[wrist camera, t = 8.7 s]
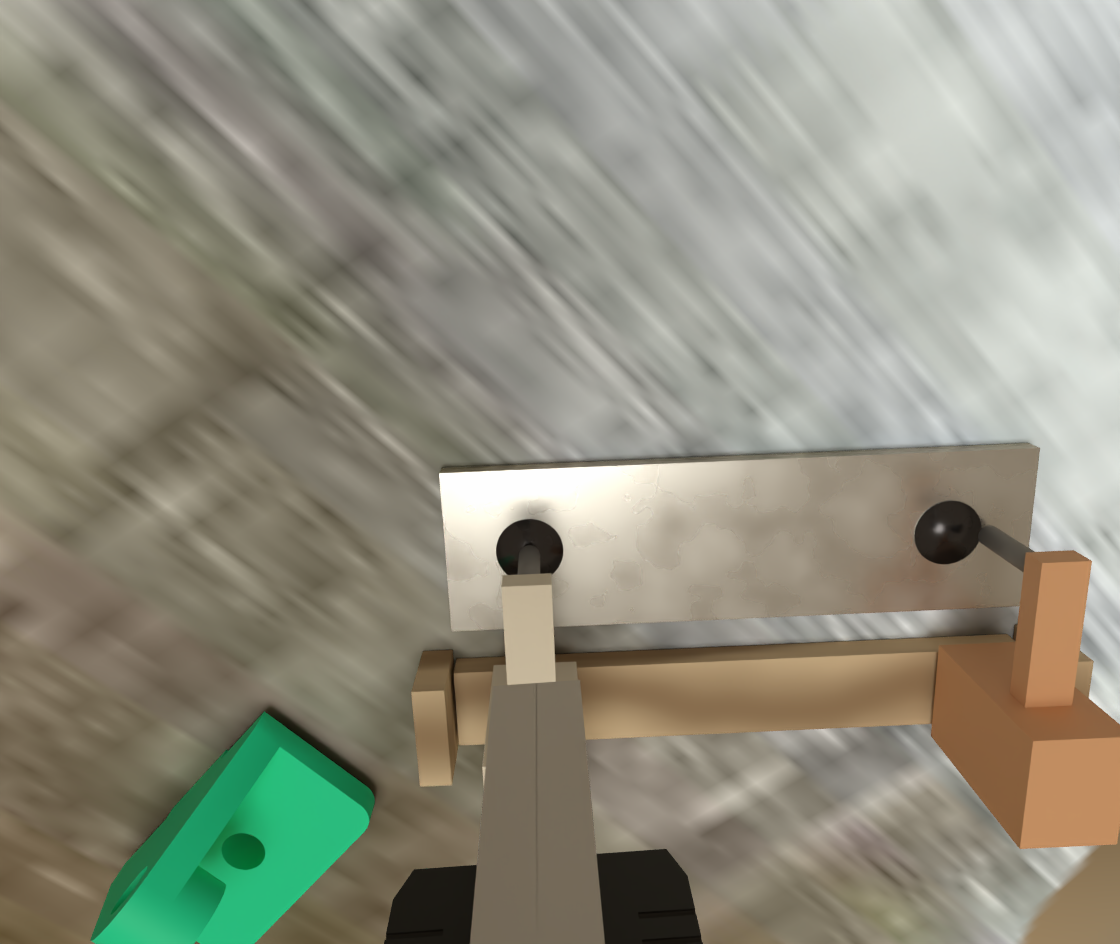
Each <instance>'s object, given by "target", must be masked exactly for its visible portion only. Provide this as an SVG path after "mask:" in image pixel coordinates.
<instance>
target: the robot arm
mask: <svg viewBox="0 0 1120 944" xmlns="http://www.w3.org/2000/svg"><path fill="white" fill-rule="evenodd" d="M384 944H703V942H702V940H701V933H700V929H699V924H698V920H697V916H696V914H695V907H694V903H693V898H692V894H691V889H690V885H689V881H688V876H687V875H686V873H685V872H684V871H683V870H682V868H681V867H680V866H679V865H678V863H677V862H676V861H675V859H674V858H673V857H672V856H671V854H670V853H669V852H668V851H667V849H659V850H645V851H631V852H617V853H604V854H596V844H595V833H594V823H593V812H592V802H591V791H590V781H589V770H588V760H587V749H586V738H585V728H584V717H583V707H582V696H581V686H580V680H571V681H557V682H543V683H529V684H514V685H500V686H493V690H492V701H491V713H490V724H489V735H488V746H487V758H486V769H485V780H484V791H483V803H482V814H481V825H480V836H479V847H478V859H477V865H471V866H457V867H443V868H429V869H415V870H413V872H412V873H411V875H410V876H409V877H408V879H407V880H406V882H405V883H404V885H403V886H402V888H401V889H400V890H399V892H398V893H397V895H396V896H395V898H394V899H393V903H392V907H391V912H390V917H389V922H388V927H387V932H386V940H385V941H384Z"/></svg>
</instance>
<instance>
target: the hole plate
mask: <svg viewBox="0 0 1120 944" xmlns="http://www.w3.org/2000/svg"><path fill="white" fill-rule="evenodd" d="M1039 452H1040V448H1039V447H1037V446H1034V445H1032V444H1029V443H1015V444H991V445H968V446H944V447H920V448H897V449H873V450H849V451H826V452H802V453H778V454H755V455H731V456H707V457H684V458H660V459H636V460H613V461H589V462H566V463H542V464H518V465H495V466H471V467H447V468H441V470H440V473H439V477H440V489H441V502H442V515H443V528H444V540H445V553H446V566H447V579H448V591H449V604H450V617H451V630H452V631H471V630H493V629H504V622H503V606H502V589H501V586H502V577H503V575H518V561H519V552H520V550H521V549H522V548H523V547H524V546H527V545H532V546H535V547H536V548H537V549H538V550H539V552H540V574H545V573H551V579H552V602H553V625H554V627H561V626H583V625H606V624H629V623H651V622H674V621H696V620H719V619H741V618H764V617H786V616H809V615H831V614H854V613H876V612H899V611H921V610H944V609H966V608H989V607H1011V606H1020V599H1021V590H1022V581H1023V572H1022V571H1020V570H1019V569H1018V568H1016V567H1015V566H1013V565H1012V564H1010V563H1009V562H1007V561H1006V560H1004V559H1003V558H1002V557H1000V556H999V555H997V554H996V553H994V552H993V551H991V550H990V549H989V548H987V547H986V546H984V545H983V544H981V543H980V542H979V540H978V534H979V531H980V530H981V529H982V528H983V527H985V526H988V525H992V526H995V527H996V528H998V529H1000V530H1001V531H1003V532H1004V533H1006V534H1007V535H1009V536H1011V537H1012V538H1014V539H1015V540H1017V541H1019V542H1020V543H1022V544H1023V545H1025V546H1026V547H1028V548H1029V539H1030V531H1031V522H1032V513H1033V504H1034V496H1035V487H1036V478H1037V470H1038V461H1039Z"/></svg>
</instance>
